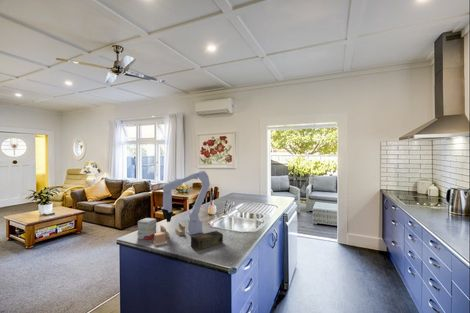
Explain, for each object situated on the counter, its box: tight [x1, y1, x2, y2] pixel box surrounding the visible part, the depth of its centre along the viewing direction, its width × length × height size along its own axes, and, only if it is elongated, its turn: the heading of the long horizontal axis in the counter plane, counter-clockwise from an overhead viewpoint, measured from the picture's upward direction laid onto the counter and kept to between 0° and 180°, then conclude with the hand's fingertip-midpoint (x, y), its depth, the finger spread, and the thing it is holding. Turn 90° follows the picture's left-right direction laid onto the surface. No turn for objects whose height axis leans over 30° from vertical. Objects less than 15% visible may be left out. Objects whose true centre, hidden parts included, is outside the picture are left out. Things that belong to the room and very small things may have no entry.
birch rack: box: [159, 221, 186, 239], centre depth 154 cm, size 14×10×6 cm
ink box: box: [137, 217, 157, 241], centre depth 148 cm, size 9×9×12 cm
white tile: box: [152, 240, 168, 246], centre depth 140 cm, size 7×7×1 cm
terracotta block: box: [153, 231, 167, 245], centre depth 140 cm, size 6×4×5 cm, turn 121°
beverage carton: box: [190, 230, 224, 251], centre depth 138 cm, size 8×19×7 cm, turn 130°
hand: (167, 220), depth 155 cm, fingers open, 7 cm apart
